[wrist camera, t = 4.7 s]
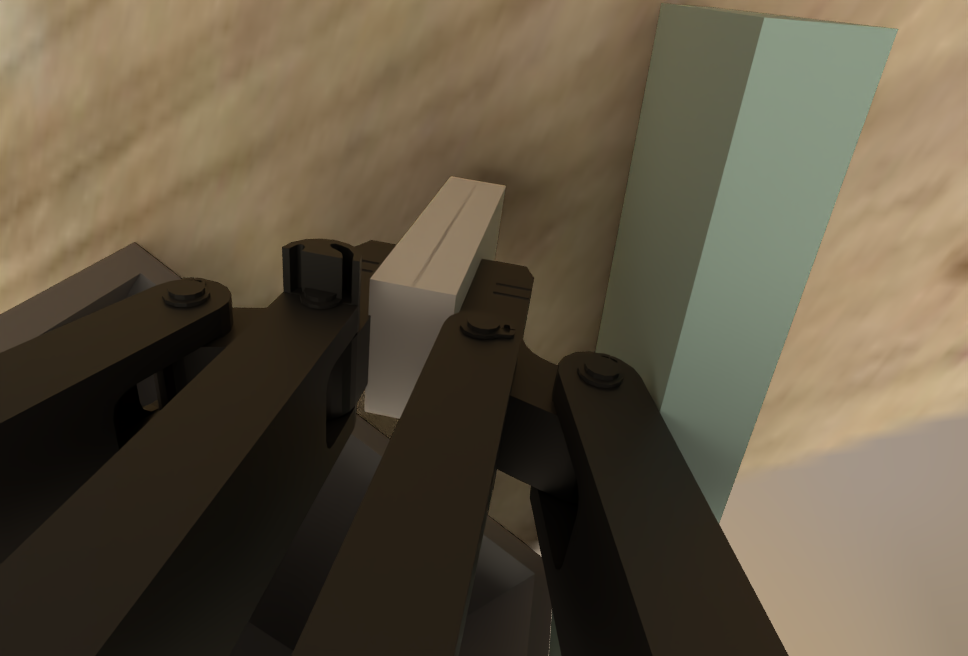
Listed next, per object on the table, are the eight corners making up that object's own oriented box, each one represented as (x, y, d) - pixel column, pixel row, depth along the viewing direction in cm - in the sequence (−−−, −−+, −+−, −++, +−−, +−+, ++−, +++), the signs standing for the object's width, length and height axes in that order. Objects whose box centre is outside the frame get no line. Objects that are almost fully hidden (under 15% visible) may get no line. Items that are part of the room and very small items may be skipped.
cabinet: (362, 686, 32) (261, 987, 22) (8, 454, 27) (-306, 702, 18) (554, 567, 25) (530, 915, 16) (134, 242, 21) (-249, 449, 11)
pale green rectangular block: (553, 573, 25) (529, 906, 16) (661, 3, 15) (763, 16, 6) (618, 585, 24) (632, 931, 15) (772, 12, 15) (1061, 42, 6)
